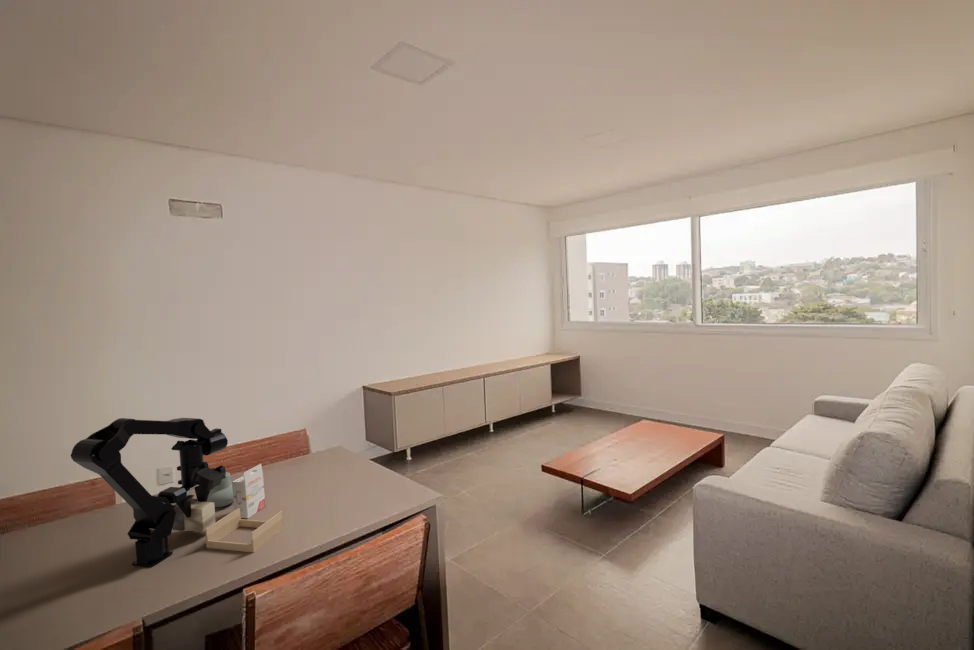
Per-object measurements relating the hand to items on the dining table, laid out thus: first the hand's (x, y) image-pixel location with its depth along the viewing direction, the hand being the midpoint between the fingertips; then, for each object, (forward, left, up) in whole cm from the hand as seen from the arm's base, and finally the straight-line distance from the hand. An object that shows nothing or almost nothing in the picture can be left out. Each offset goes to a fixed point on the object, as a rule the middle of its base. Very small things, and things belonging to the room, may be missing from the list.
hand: (195, 513), depth 135 cm
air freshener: (+19, +8, -7) cm, 21 cm away
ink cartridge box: (+15, -6, -7) cm, 17 cm away
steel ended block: (0, 0, -4) cm, 4 cm away
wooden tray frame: (0, -17, -6) cm, 18 cm away
